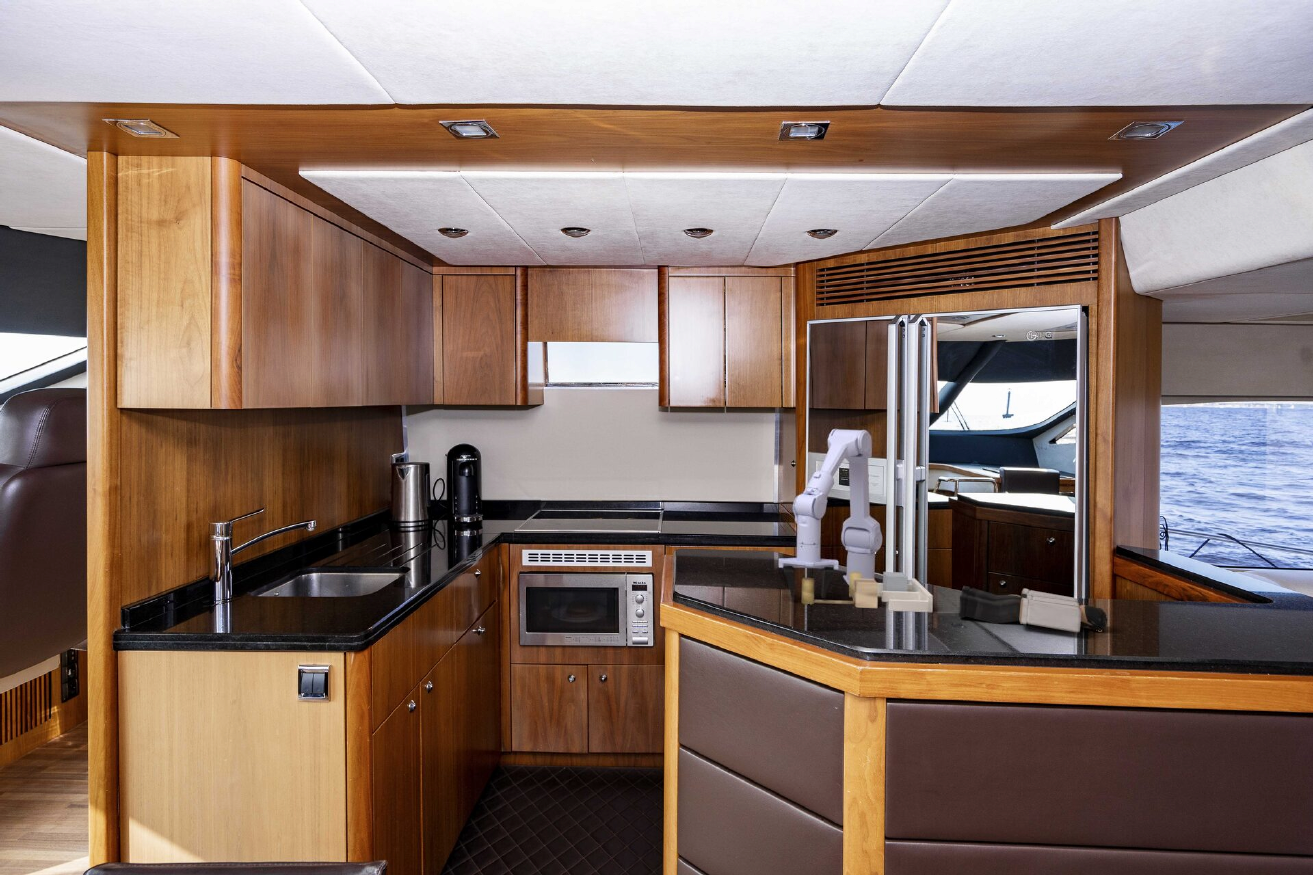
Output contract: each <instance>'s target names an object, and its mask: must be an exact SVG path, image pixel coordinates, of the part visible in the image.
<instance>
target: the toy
mask: <svg viewBox="0 0 1313 875" xmlns="http://www.w3.org/2000/svg"><path fill="white" fill-rule="evenodd" d="M958 603H959V604H958V605H959V606H958V617H960V618H965V617H967V618H971V619H975V620H979V621H983V622H987V623H991V624H999V625H1000V624H1005V623H1006V624H1007V623H1013V622H1018V621H1019V623H1020V624H1021V625H1022V624H1023V625H1027V624H1028V625H1033V626H1038V627H1045V628H1051V629H1055V630H1061V631H1066V632H1067V631H1068V632H1073V633H1080V631H1081V628H1085V629H1088V630H1089V629H1093V631H1095V630H1097V631H1098V630H1099V631H1101V630H1104V631H1105V630H1106V629H1107V623H1108V617H1107V613H1106V612H1105V611H1104V609H1102V608H1101V607H1096V606H1093V605H1092V606H1091V605H1087V604H1085V605H1084V604H1081V605H1080V604H1079V602H1078V599H1077V598H1076V597H1070V596H1066V595H1065V596H1064V595H1059V594H1055V593H1054V594H1053V593H1049V592H1048V593H1047V592H1042V591H1036V590H1032V589H1031V590H1030V589H1028V588H1023V589H1022V591H1021V594H999V595H998V594H995V593H991V592H988V591H984V590H981V589H977V588H974V587H972V588H971V587H970V586H968V585H963V587H962V590H961V593H960V595H959V601H958Z"/></svg>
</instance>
